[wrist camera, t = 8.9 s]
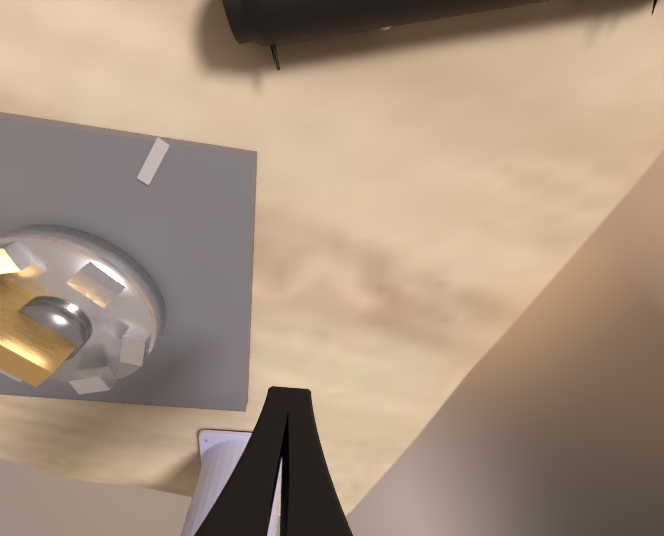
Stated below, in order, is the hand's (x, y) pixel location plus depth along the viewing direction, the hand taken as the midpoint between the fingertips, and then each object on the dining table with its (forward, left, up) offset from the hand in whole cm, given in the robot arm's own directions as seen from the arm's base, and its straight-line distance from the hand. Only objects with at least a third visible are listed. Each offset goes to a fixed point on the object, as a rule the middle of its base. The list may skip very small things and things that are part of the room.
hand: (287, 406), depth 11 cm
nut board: (-4, +13, -10) cm, 17 cm away
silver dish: (-2, +15, -9) cm, 17 cm away
